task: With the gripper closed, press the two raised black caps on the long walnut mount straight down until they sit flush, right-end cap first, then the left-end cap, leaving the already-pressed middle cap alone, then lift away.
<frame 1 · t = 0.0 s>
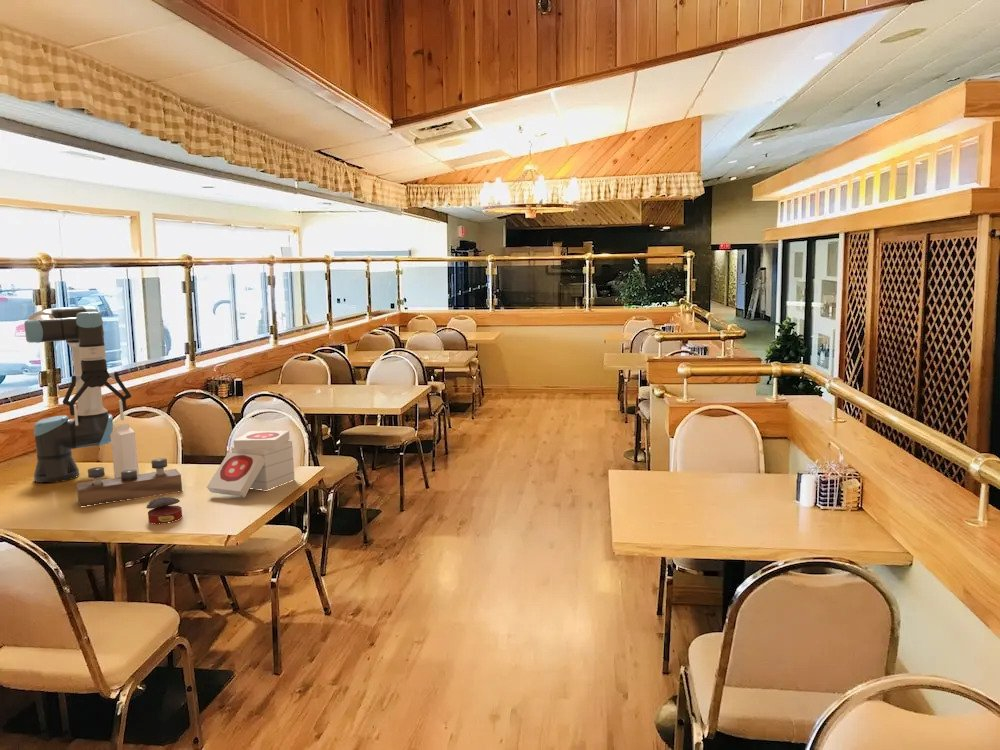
hand: (99, 422, 263), 28 cm above the table, tool pointing down, fingers open, 13 cm apart
milk: (127, 483, 292), on the table
knob right: (159, 469, 279), point 8 cm above the table, slide at 2.5 cm
knob middle: (129, 480, 274), point 5 cm above the table, slide at 0.0 cm
mount: (131, 495, 275), on the table
canned food: (165, 520, 248), on the table
pizza boxes: (255, 488, 280), on the table
knob left: (96, 478, 269), point 8 cm above the table, slide at 2.5 cm
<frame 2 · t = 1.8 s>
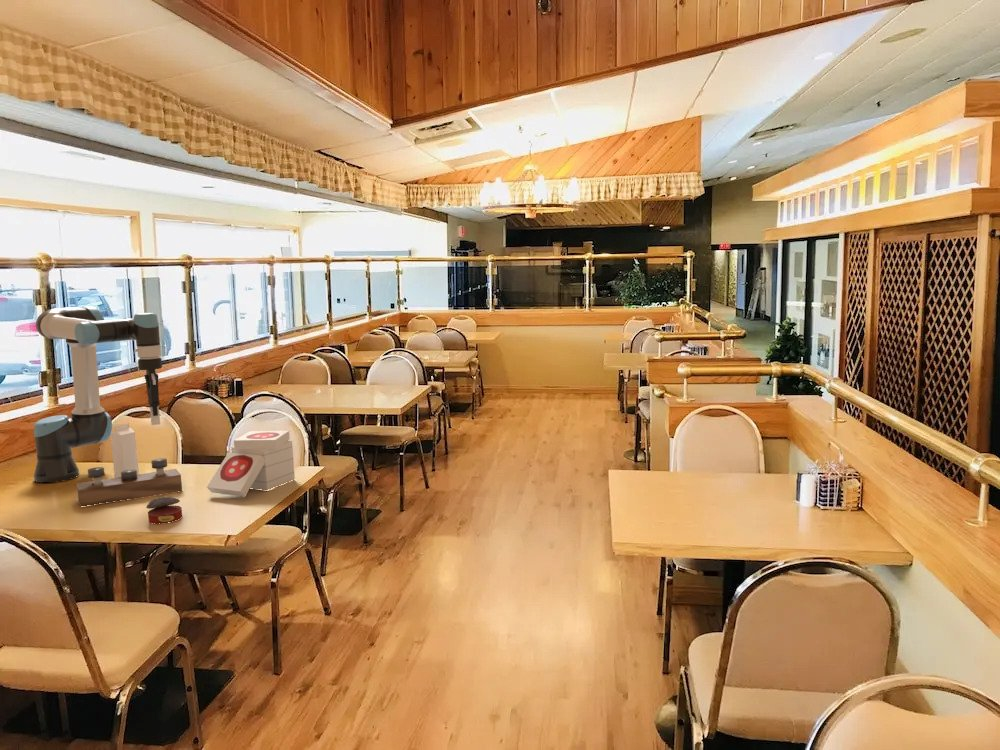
hand: (155, 424, 276), 24 cm above the table, tool pointing down, fingers closed
nothing on the table moved.
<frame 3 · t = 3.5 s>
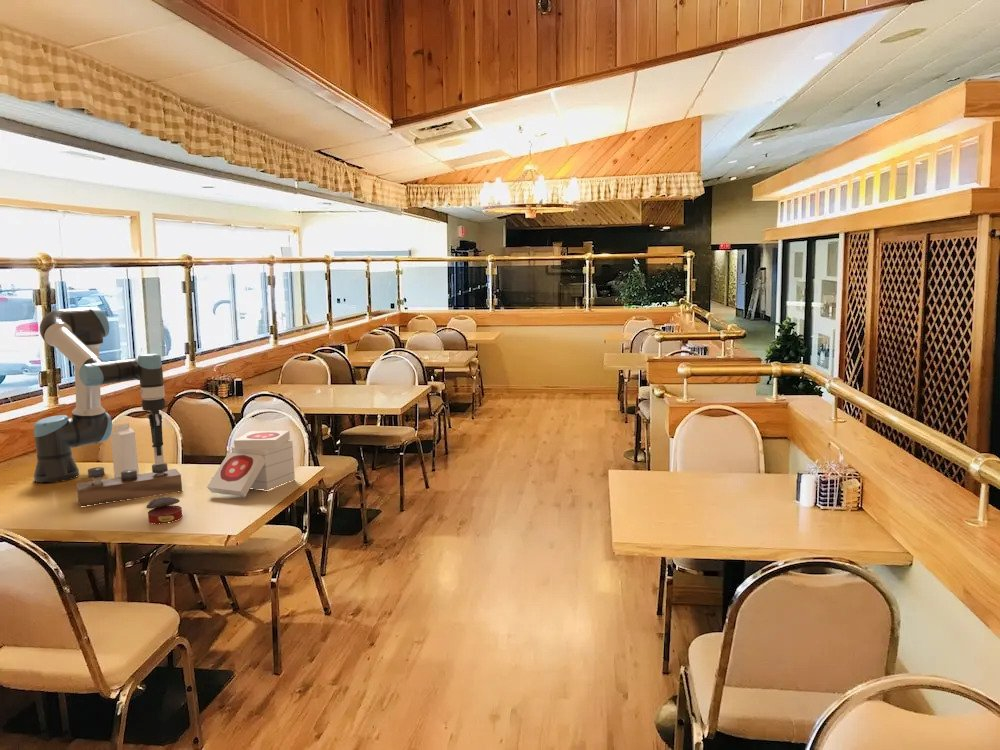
hand: (159, 463, 278), 10 cm above the table, tool pointing down, fingers closed
knob right: (160, 473, 279), point 6 cm above the table, slide at 0.8 cm, touching gripper
everything else where it was.
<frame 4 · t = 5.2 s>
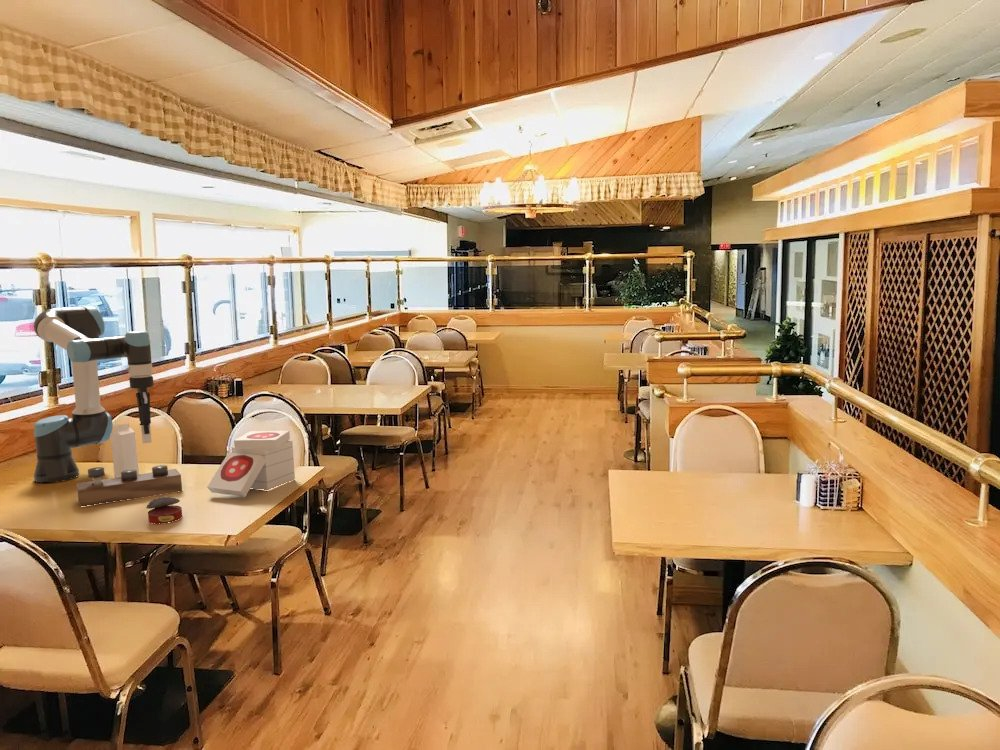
hand: (147, 442, 276), 18 cm above the table, tool pointing down, fingers closed
knob right: (160, 476, 279), point 5 cm above the table, slide at 0.0 cm
everything else where it was.
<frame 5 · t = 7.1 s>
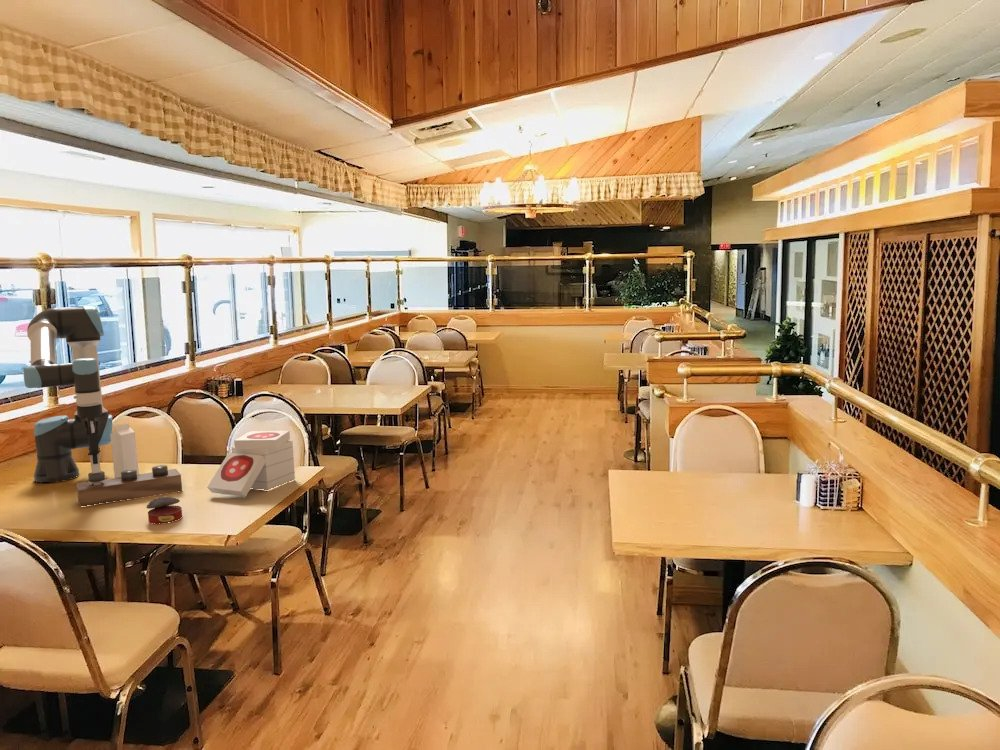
hand: (96, 472, 268), 10 cm above the table, tool pointing down, fingers closed
knob left: (97, 482, 269), point 6 cm above the table, slide at 1.1 cm, touching gripper
everything else where it was.
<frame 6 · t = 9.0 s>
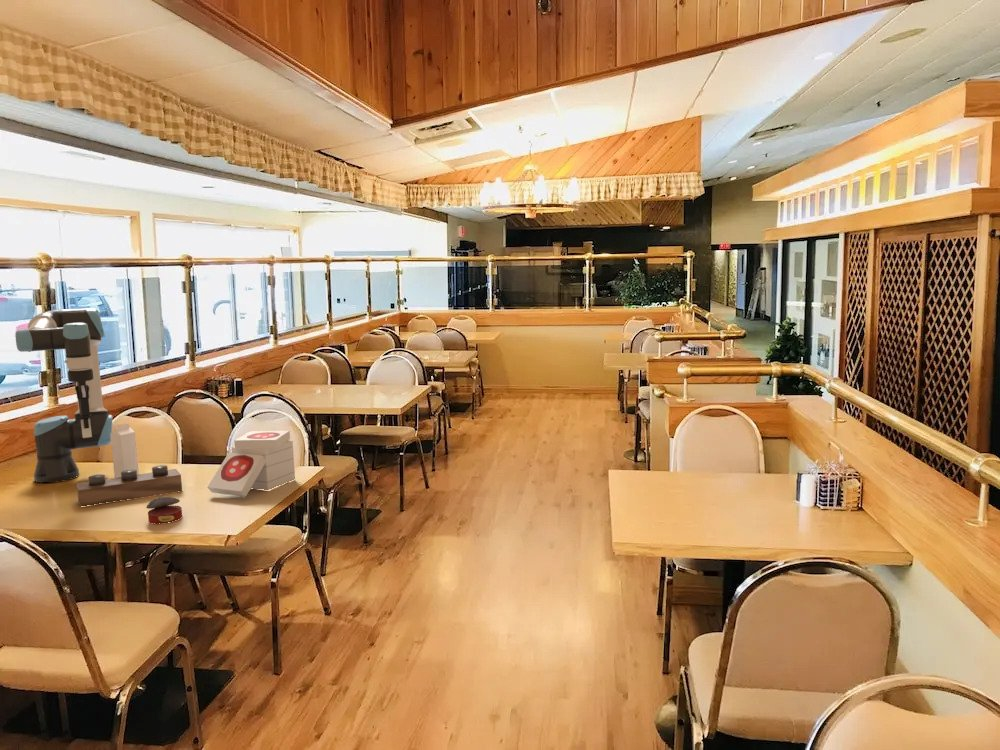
hand: (87, 436, 270), 22 cm above the table, tool pointing down, fingers closed
knob left: (97, 485, 269), point 5 cm above the table, slide at -0.1 cm
everything else where it was.
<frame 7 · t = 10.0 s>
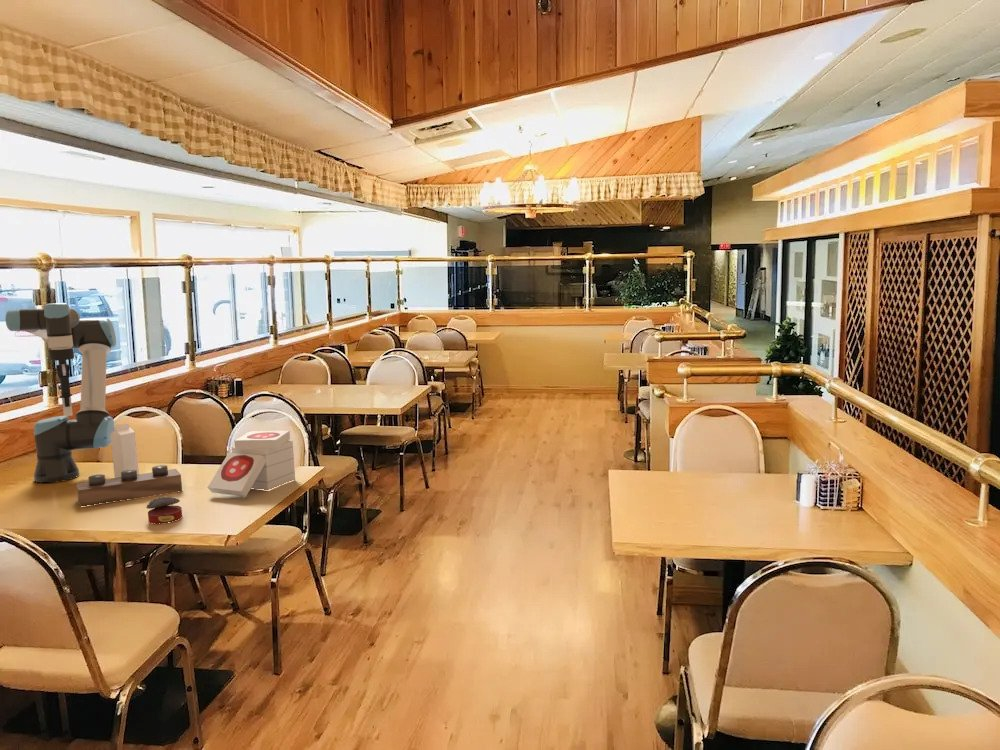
hand: (68, 415, 275), 28 cm above the table, tool pointing down, fingers closed
nothing on the table moved.
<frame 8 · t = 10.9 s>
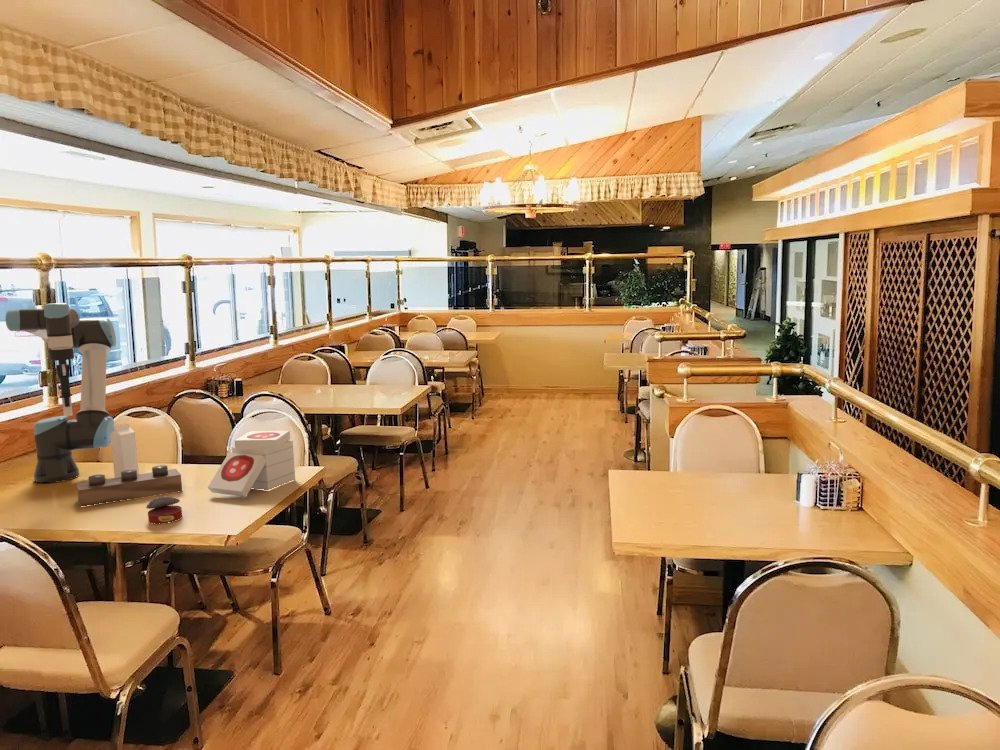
hand: (68, 415, 275), 28 cm above the table, tool pointing down, fingers closed
nothing on the table moved.
at the end: knob right slide at 0.0 cm; knob left slide at -0.1 cm; milk moved 0.2 cm from its start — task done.
